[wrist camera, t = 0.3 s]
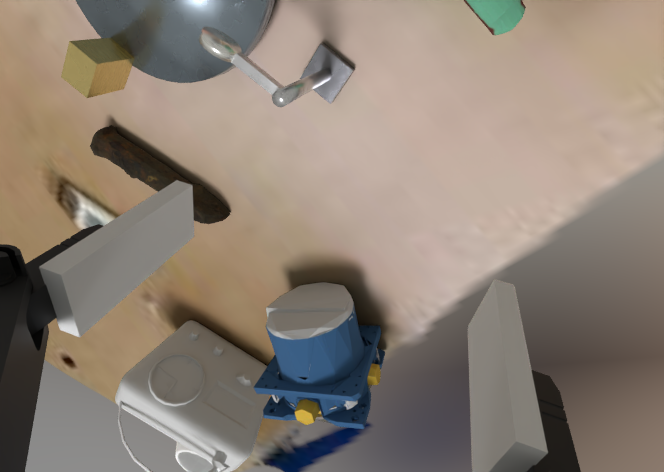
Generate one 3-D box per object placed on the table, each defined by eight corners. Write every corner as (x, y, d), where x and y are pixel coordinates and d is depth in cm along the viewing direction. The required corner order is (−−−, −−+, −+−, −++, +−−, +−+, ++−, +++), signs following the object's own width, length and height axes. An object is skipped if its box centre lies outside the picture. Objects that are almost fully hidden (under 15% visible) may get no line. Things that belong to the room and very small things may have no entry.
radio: (291, 372, 66) (216, 538, 45) (272, 393, 71) (197, 551, 50) (184, 305, 65) (56, 444, 44) (172, 330, 69) (52, 467, 49)
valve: (389, 353, 56) (367, 438, 43) (299, 350, 62) (255, 425, 48) (375, 274, 52) (345, 342, 39) (279, 278, 57) (224, 339, 44)
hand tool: (109, 145, 52) (81, 156, 48) (114, 121, 49) (86, 131, 46) (225, 224, 53) (207, 242, 50) (235, 205, 51) (217, 222, 47)
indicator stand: (354, 69, 38) (312, 95, 27) (333, 101, 40) (285, 138, 29) (278, 6, 37) (202, 5, 26) (260, 43, 39) (183, 57, 28)
